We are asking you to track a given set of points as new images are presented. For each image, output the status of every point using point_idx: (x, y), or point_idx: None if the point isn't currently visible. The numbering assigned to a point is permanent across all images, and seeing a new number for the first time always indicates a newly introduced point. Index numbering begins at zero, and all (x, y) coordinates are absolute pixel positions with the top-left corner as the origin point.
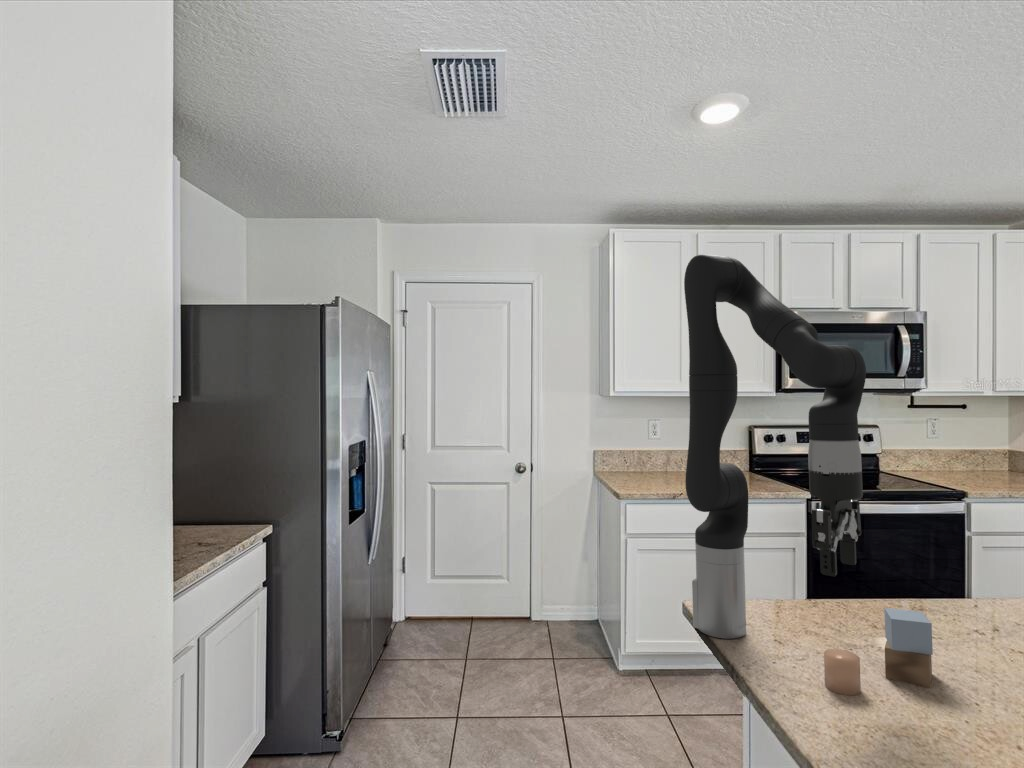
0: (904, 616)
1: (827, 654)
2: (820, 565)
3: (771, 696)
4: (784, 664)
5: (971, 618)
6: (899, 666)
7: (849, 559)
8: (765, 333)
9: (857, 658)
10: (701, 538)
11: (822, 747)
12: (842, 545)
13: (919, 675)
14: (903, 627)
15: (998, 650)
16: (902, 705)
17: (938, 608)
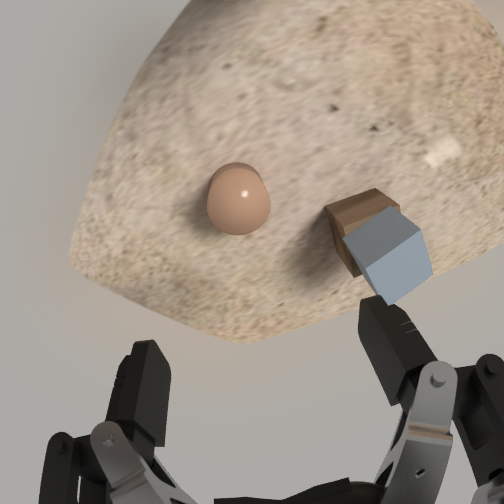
0: (393, 273)
1: (219, 189)
2: (128, 364)
3: (115, 150)
4: (236, 81)
5: None
6: (337, 232)
7: (366, 335)
8: None
9: (251, 228)
10: None
11: (85, 259)
12: (393, 361)
13: (340, 250)
14: (366, 274)
15: (479, 244)
16: (259, 255)
17: None
